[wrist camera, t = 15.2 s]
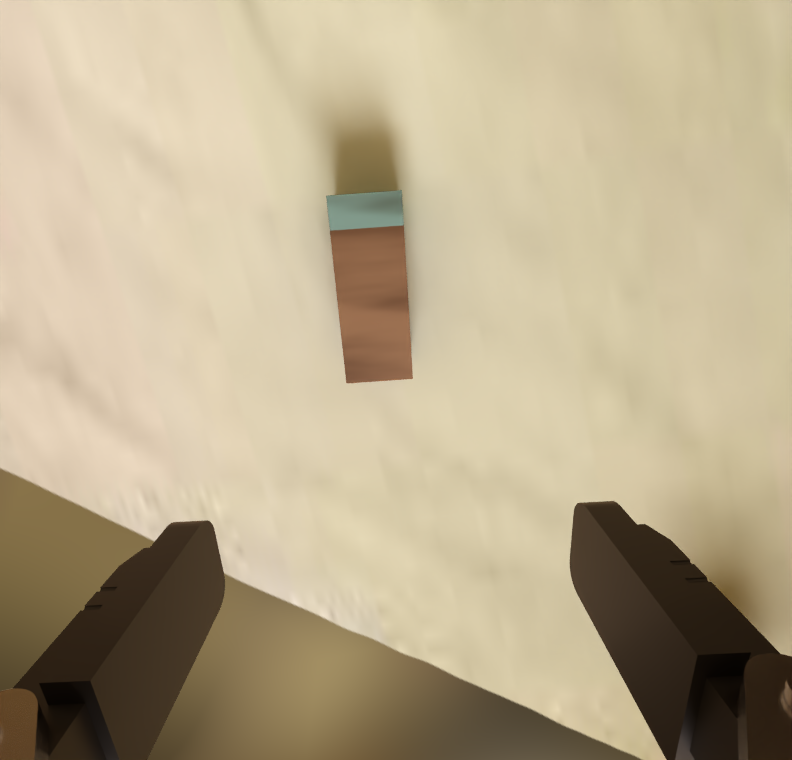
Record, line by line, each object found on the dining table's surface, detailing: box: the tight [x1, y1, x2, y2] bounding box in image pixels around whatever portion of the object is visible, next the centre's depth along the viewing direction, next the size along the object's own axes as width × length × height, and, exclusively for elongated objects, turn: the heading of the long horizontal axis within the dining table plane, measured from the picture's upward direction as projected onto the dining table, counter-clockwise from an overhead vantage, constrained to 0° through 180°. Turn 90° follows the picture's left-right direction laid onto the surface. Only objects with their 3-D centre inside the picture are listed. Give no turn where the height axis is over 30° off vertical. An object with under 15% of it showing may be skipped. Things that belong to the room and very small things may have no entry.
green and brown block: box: [326, 190, 413, 383], centre depth 29 cm, size 5×5×12 cm
